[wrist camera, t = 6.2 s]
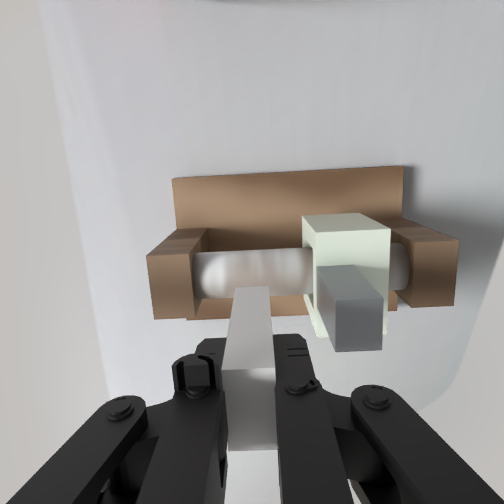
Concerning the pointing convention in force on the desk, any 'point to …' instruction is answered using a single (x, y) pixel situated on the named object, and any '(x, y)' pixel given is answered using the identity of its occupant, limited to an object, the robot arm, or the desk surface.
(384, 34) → the desk surface
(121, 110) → the desk surface
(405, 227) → the pipe rig
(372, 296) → the collar
